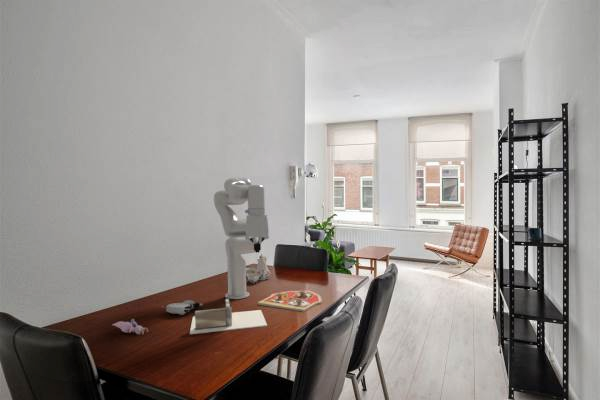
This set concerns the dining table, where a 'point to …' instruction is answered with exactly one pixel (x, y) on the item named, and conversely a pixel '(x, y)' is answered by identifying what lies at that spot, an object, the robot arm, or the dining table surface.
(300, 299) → the knob puzzle
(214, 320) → the fence base
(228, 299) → the fence panel
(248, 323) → the card
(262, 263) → the chinaware
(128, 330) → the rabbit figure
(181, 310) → the robot toy
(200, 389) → the dining table surface
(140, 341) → the dining table surface
